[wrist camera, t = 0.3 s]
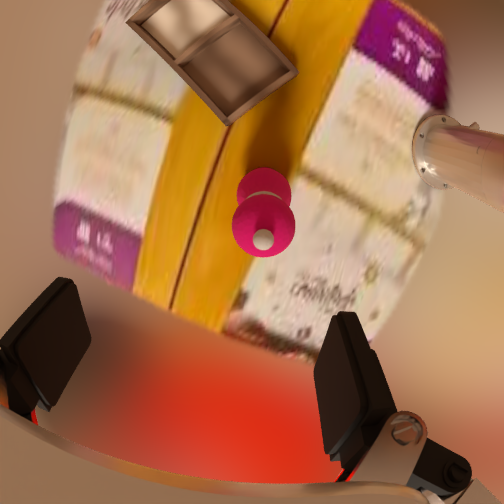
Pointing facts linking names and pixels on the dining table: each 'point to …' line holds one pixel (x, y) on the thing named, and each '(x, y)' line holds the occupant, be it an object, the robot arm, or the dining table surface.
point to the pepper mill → (263, 213)
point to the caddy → (214, 52)
